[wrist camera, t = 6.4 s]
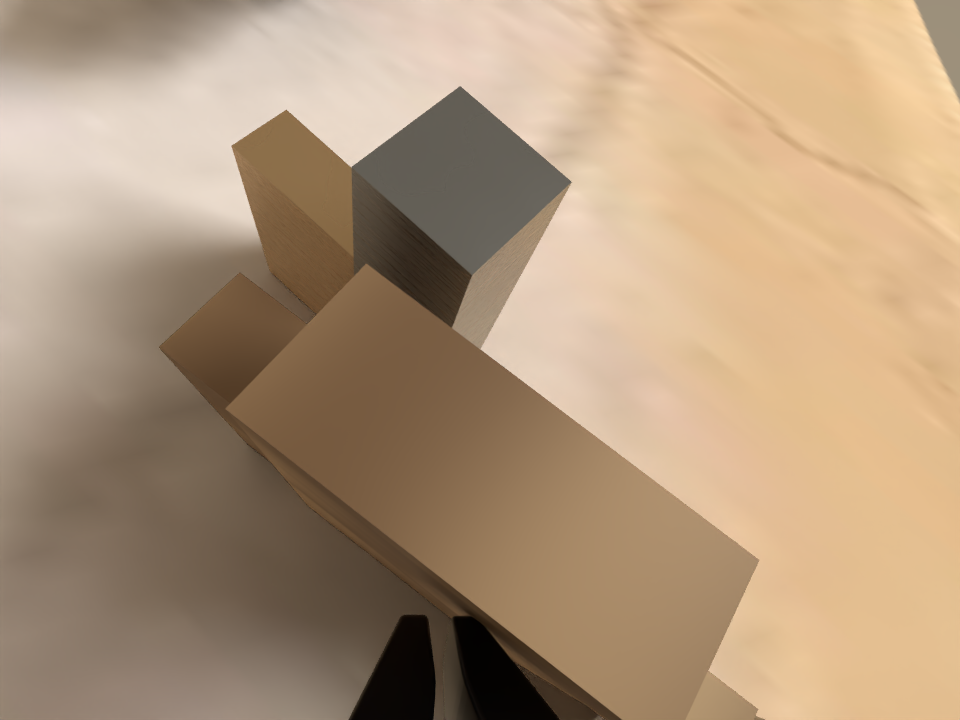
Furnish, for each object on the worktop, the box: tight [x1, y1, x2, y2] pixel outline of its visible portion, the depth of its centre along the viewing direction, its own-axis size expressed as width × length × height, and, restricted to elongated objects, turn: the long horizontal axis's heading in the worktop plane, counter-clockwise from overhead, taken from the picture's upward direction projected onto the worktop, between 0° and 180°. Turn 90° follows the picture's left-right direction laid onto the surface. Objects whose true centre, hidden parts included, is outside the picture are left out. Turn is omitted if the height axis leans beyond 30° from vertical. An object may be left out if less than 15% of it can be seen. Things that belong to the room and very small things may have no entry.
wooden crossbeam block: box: [159, 264, 759, 720], centre depth 12 cm, size 12×2×11 cm, turn 54°
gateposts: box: [232, 86, 765, 720], centre depth 13 cm, size 3×22×10 cm, turn 39°
